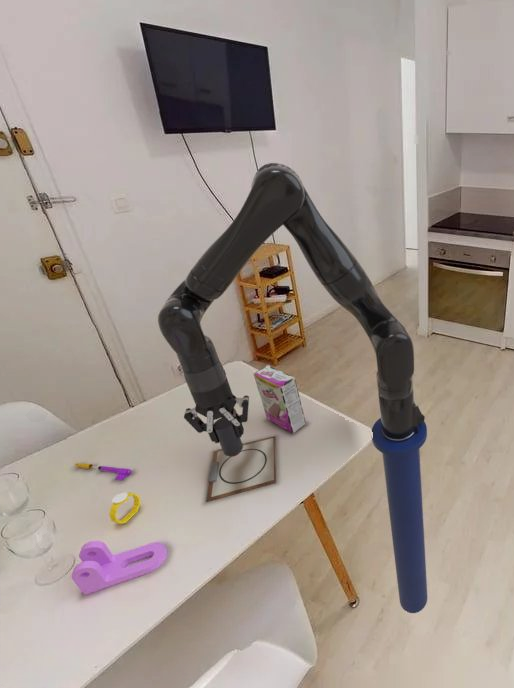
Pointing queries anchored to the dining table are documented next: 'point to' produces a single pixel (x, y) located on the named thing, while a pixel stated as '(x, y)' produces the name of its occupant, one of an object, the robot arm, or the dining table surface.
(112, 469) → the purple pen tool
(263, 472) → the clipboard
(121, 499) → the watch
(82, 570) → the bracket
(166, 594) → the dining table surface
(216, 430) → the dark gray cylinder
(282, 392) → the candy bar box
